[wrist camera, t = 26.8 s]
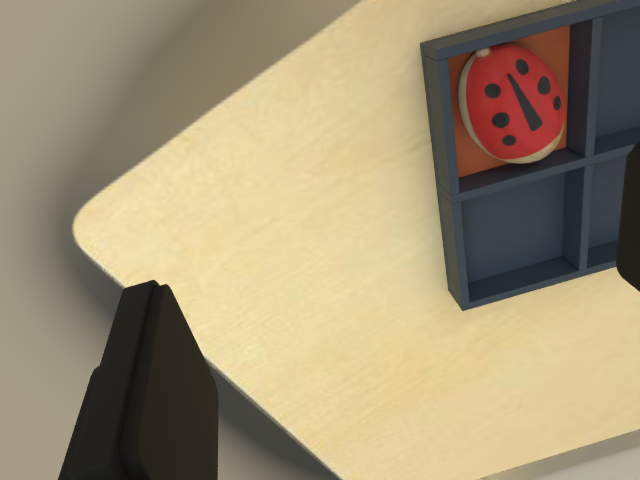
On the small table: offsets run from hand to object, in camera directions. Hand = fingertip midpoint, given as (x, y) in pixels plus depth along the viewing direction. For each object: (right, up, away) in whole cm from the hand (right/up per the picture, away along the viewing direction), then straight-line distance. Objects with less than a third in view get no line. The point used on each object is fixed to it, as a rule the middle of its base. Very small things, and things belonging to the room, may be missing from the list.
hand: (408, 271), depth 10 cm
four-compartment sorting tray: (+17, +8, +29) cm, 35 cm away
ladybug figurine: (+11, +11, +26) cm, 30 cm away
